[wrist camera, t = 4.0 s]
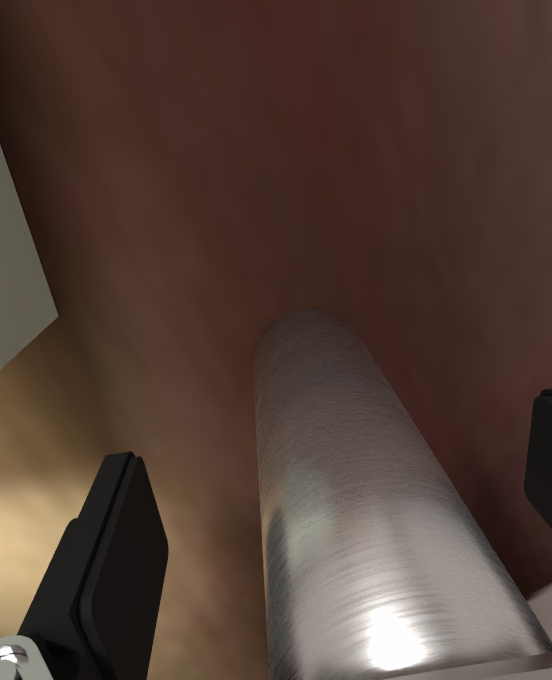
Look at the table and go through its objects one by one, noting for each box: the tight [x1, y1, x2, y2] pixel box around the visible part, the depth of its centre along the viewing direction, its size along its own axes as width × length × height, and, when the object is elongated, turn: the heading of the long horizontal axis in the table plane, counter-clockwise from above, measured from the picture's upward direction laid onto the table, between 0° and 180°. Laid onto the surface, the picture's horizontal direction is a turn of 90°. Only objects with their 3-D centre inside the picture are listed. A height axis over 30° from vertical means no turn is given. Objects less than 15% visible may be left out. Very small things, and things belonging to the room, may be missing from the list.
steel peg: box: [253, 309, 552, 680], centre depth 10 cm, size 4×4×14 cm
